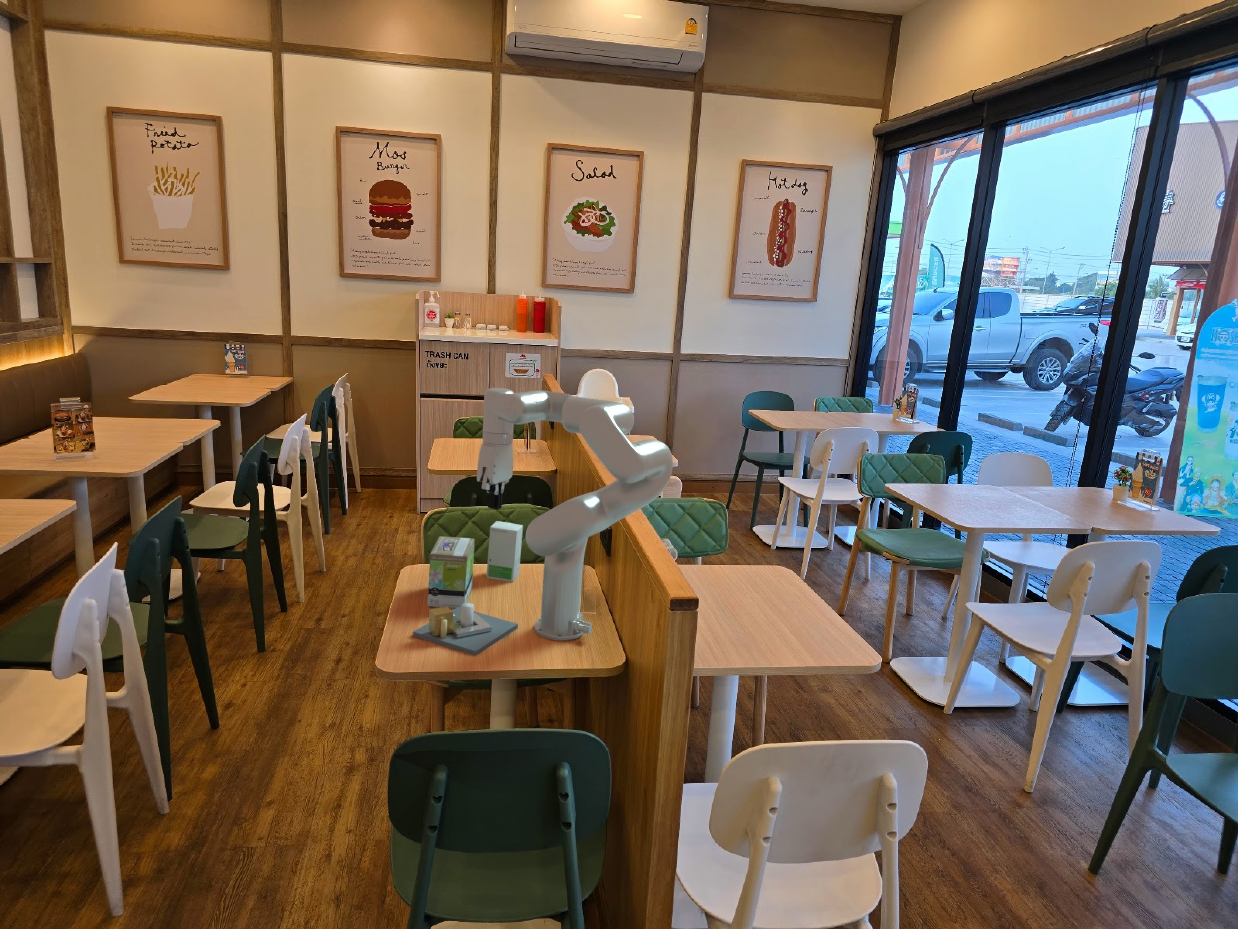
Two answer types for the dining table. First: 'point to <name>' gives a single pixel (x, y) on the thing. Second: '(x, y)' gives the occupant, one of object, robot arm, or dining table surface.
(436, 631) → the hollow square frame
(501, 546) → the skincare box
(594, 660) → the dining table surface
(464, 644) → the post board
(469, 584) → the tea box
